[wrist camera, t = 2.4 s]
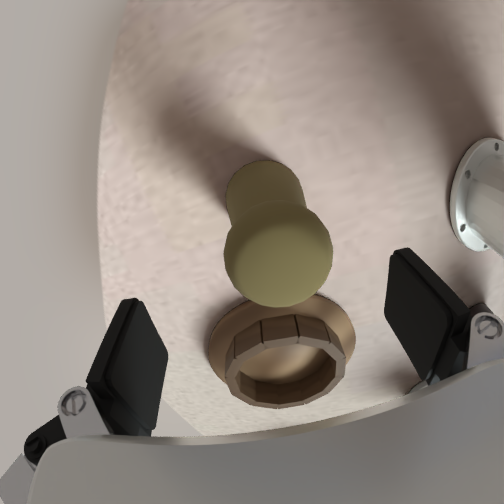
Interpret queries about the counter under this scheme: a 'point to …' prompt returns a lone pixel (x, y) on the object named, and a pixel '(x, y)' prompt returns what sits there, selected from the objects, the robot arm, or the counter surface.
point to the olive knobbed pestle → (274, 237)
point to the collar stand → (282, 351)
